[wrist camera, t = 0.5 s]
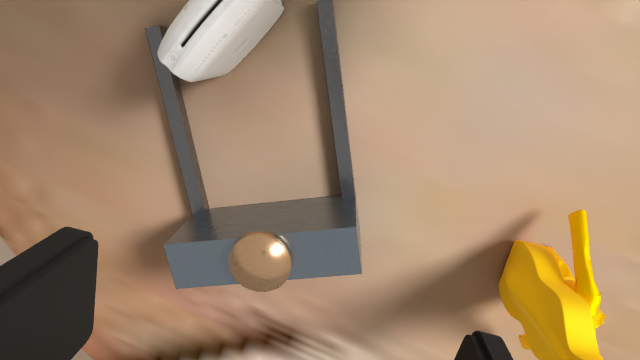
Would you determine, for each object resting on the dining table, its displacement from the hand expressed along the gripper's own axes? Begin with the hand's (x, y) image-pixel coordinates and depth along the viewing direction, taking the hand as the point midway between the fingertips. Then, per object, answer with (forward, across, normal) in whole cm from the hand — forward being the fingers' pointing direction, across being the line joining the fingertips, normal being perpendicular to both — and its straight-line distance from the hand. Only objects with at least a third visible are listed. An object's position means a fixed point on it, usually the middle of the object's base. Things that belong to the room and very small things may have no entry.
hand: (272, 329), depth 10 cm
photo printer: (+35, +11, -6) cm, 37 cm away
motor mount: (+34, +7, +5) cm, 35 cm away
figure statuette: (+35, -26, +12) cm, 45 cm away
